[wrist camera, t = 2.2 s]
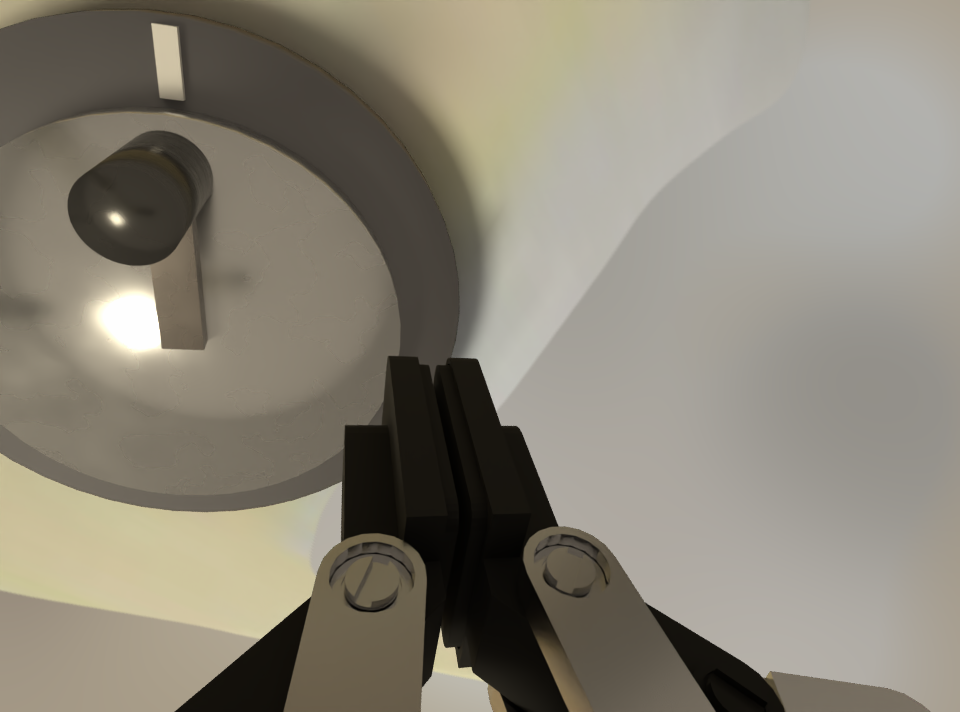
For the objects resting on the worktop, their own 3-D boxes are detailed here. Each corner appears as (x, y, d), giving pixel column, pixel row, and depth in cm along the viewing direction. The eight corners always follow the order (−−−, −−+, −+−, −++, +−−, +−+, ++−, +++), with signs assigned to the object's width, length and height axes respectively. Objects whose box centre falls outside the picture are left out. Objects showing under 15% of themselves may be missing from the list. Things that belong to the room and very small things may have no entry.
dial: (384, 471, 33) (392, 567, 27) (9, 478, 28) (-69, 593, 23) (415, 137, 24) (436, 181, 18) (-126, 72, 19) (-306, 104, 14)
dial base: (-162, -108, 19) (-220, -120, 17) (519, 123, 27) (533, 133, 25) (-79, 459, 30) (-108, 492, 28) (388, 504, 37) (391, 532, 35)
